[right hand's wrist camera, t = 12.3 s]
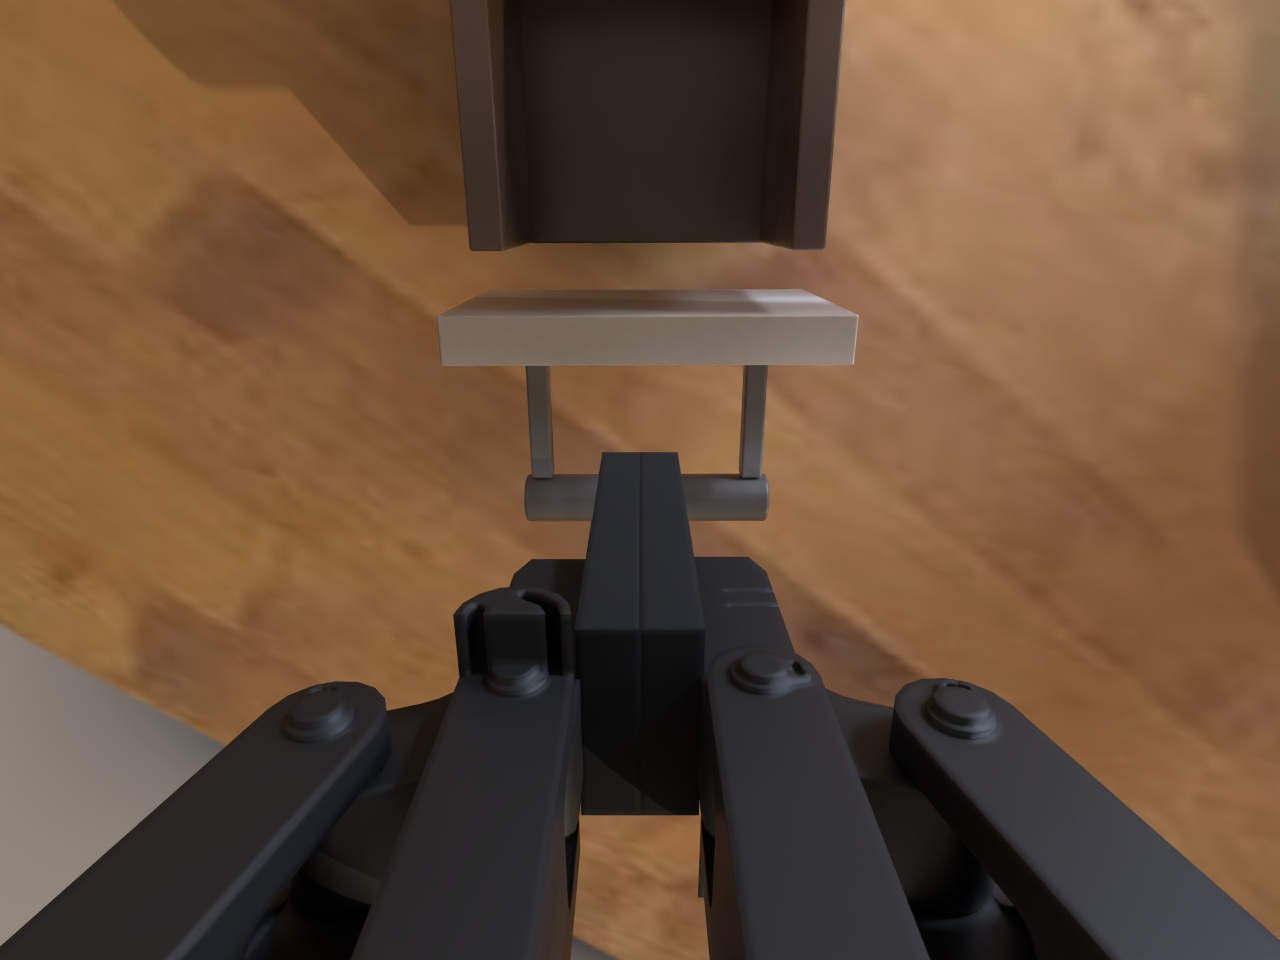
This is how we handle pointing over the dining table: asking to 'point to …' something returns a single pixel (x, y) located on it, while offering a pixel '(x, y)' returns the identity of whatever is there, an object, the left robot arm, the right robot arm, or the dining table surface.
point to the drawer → (647, 198)
